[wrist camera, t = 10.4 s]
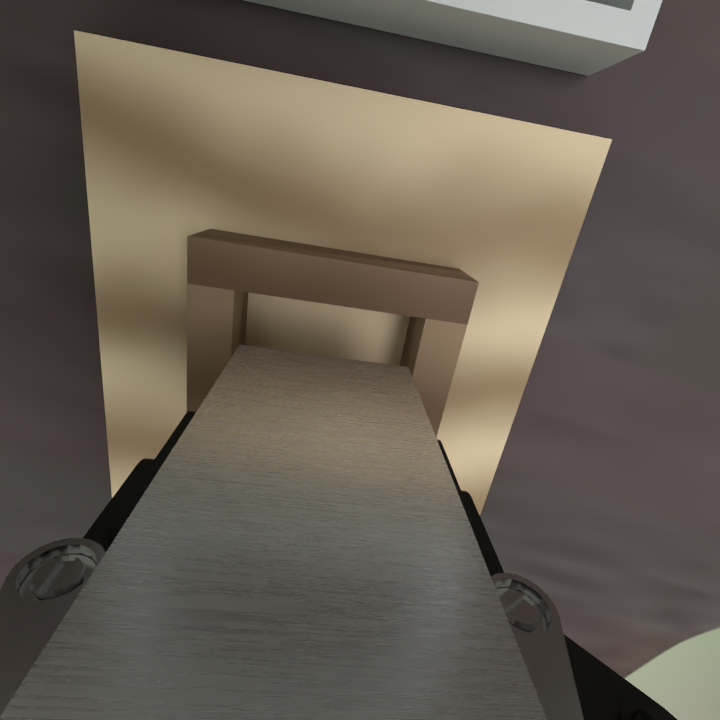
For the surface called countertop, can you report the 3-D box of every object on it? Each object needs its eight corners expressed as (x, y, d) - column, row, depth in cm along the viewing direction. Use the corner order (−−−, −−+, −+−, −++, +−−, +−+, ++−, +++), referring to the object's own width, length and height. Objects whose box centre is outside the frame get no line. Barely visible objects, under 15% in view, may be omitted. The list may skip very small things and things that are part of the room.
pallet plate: (95, 42, 14) (15, -5, 10) (593, 142, 16) (663, 130, 12) (125, 507, 21) (85, 567, 18) (460, 537, 23) (480, 597, 20)
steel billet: (239, 344, 12) (-102, 873, 3) (408, 366, 12) (607, 876, 3) (231, 483, 14) (12, 1082, 5) (378, 498, 14) (451, 1061, 5)
